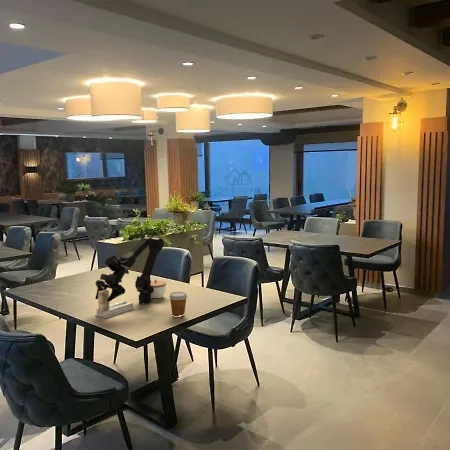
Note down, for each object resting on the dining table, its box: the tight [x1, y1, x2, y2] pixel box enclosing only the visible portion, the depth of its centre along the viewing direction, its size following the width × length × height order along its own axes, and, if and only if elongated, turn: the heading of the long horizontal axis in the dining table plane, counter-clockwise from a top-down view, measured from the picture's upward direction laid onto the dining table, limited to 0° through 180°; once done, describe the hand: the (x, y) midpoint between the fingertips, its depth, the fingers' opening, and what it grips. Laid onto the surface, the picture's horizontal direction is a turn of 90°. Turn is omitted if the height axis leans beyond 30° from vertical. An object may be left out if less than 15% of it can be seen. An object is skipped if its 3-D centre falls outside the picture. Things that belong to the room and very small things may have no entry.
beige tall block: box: [97, 289, 110, 316], centre depth 246 cm, size 5×3×12 cm, turn 144°
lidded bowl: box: [151, 279, 167, 299], centre depth 281 cm, size 13×13×11 cm
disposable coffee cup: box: [168, 291, 188, 316], centre depth 247 cm, size 10×10×12 cm
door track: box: [95, 300, 135, 319], centre depth 253 cm, size 20×8×4 cm, turn 144°
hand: (101, 300), depth 245 cm, fingers open, 9 cm apart
